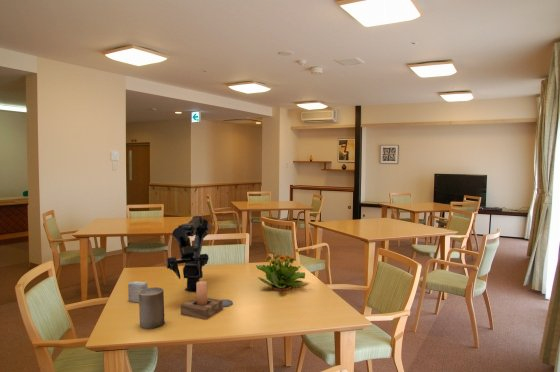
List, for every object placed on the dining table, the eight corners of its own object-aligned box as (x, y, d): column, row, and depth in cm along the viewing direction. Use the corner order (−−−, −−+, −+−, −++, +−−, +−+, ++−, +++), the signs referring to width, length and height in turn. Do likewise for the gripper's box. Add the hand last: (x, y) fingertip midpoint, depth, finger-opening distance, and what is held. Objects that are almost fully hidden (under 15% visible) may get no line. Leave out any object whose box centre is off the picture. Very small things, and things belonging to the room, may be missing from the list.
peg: (200, 309, 178) (200, 280, 177) (209, 310, 176) (208, 281, 175) (194, 312, 174) (194, 283, 173) (203, 314, 172) (202, 284, 171)
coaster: (221, 300, 190) (221, 298, 190) (235, 302, 186) (235, 300, 186) (211, 305, 183) (211, 303, 182) (226, 308, 179) (226, 306, 179)
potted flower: (298, 298, 192) (299, 262, 191) (251, 294, 197) (251, 260, 196) (305, 282, 217) (306, 251, 216) (263, 280, 222) (263, 249, 221)
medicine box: (148, 300, 190) (148, 282, 189) (142, 303, 186) (142, 285, 185) (134, 298, 192) (133, 280, 191) (128, 301, 188) (127, 283, 187)
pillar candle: (167, 319, 167) (166, 283, 166) (161, 328, 157) (159, 291, 156) (143, 319, 167) (142, 284, 166) (136, 329, 157) (134, 292, 156)
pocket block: (198, 304, 184) (198, 296, 183) (222, 309, 178) (222, 300, 178) (180, 314, 172) (180, 305, 172) (205, 319, 166) (205, 310, 166)
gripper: (166, 240, 180) (170, 271, 171) (207, 236, 187) (213, 266, 178) (164, 253, 188) (168, 283, 179) (203, 249, 195) (209, 278, 186)
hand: (190, 277), depth 180 cm, fingers open, 9 cm apart
